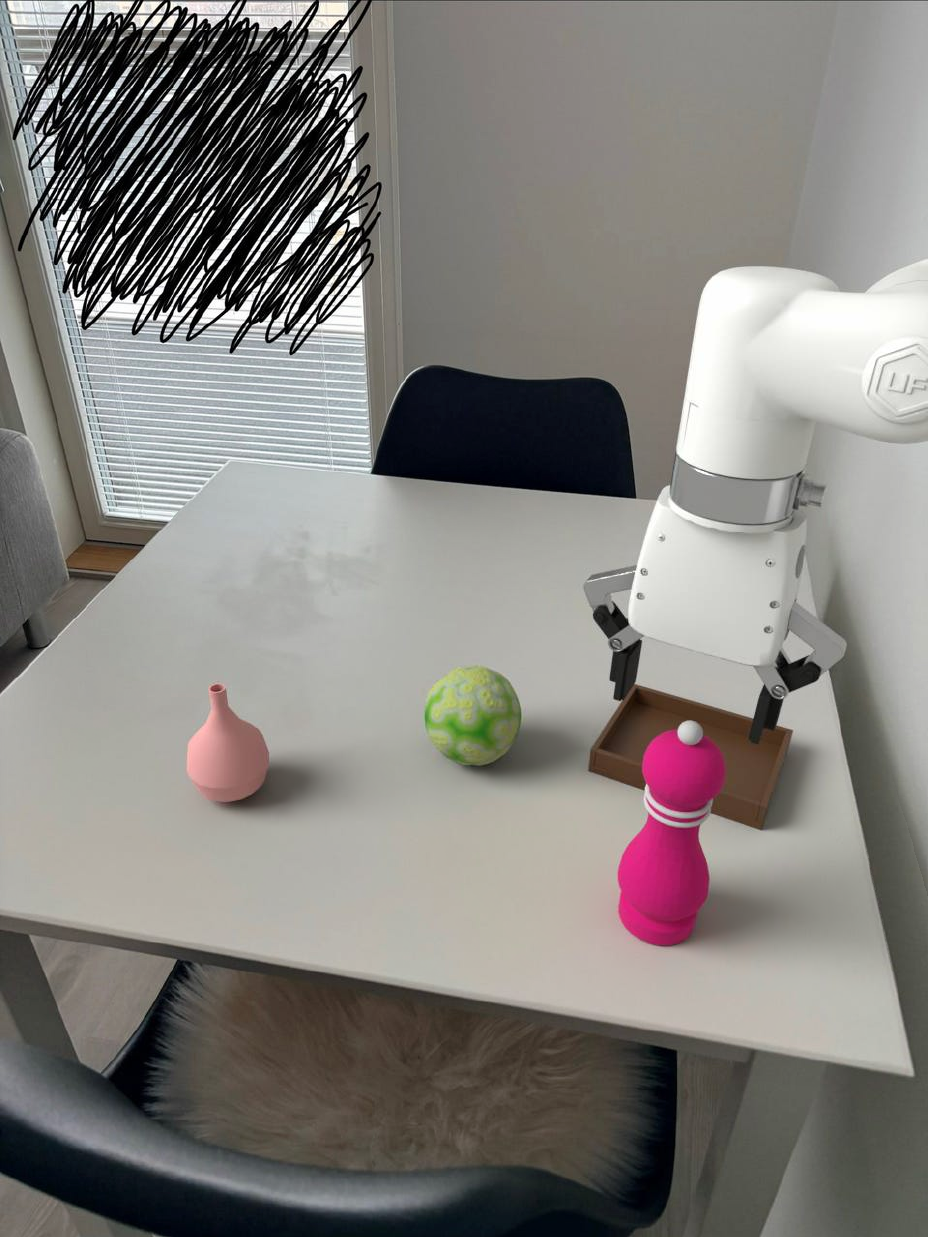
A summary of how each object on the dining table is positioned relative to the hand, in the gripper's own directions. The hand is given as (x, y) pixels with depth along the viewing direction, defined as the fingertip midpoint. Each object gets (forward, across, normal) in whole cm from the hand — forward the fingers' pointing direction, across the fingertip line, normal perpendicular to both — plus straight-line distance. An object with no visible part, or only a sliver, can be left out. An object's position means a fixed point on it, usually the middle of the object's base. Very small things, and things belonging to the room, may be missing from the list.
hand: (689, 711), depth 62 cm
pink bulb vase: (+22, +40, +5) cm, 46 cm away
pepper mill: (+21, -1, 0) cm, 21 cm away
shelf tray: (+21, +2, -21) cm, 30 cm away
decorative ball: (+21, +22, -11) cm, 33 cm away
